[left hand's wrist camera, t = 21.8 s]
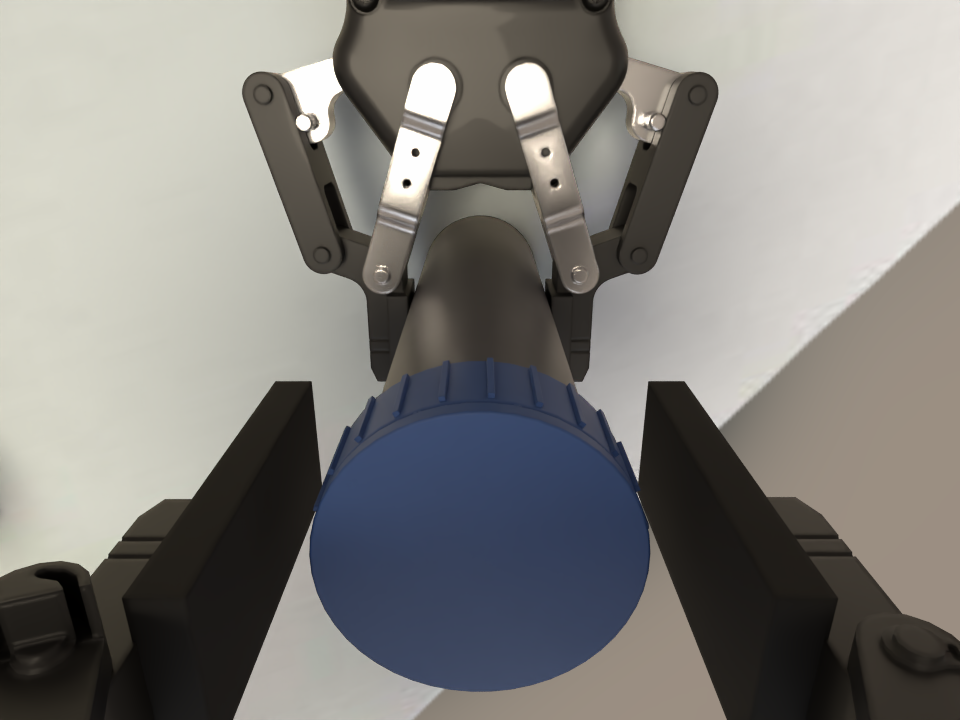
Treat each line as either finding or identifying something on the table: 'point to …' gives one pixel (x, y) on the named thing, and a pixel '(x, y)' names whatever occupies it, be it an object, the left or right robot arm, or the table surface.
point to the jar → (479, 305)
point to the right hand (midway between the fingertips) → (480, 386)
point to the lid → (479, 529)
